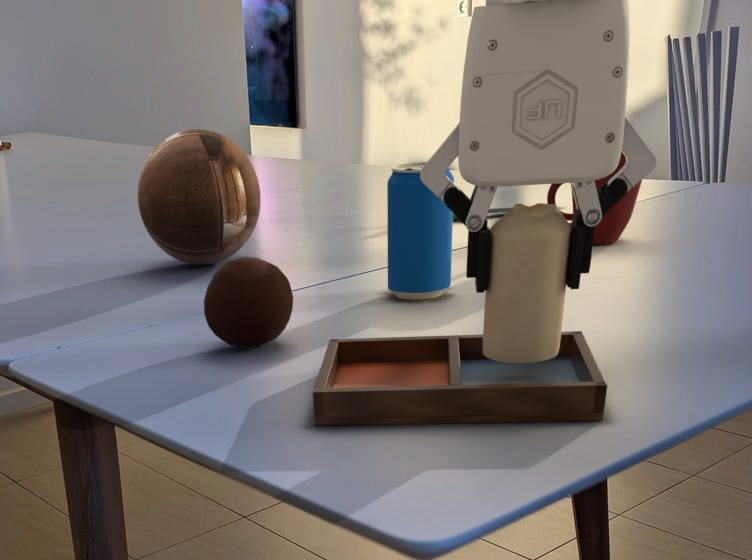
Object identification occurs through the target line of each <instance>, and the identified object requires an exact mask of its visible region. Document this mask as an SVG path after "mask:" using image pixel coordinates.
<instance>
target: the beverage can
mask: <svg viewBox="0 0 752 560" xmlns="http://www.w3.org/2000/svg"><path fill="white" fill-rule="evenodd" d="M427 162H428V161H420V162H419V161H418V162H409V163H403V164H398V165H394V166H392V167H391V171H392V173H391V175H390V176H389V177H388V180H387V183H386V184H387V187H386V188H387V189H386V190H387V191H386V193H387V194H386V195H387V202H386V203H387V289H388V290H389V291H390V292H392V293H393V294H394V296H395V297H396V298H398V299H403V300H410V301H411V300H412V301H413V300H415V301H418V300H428V299H434V298H438V297H440V296H442V295H443V294H444V292H445V291H446V290H447V289H449V288H450V287H451V282H452V253H453V227H454V226H453V225H454V224H453V223H454V219H453V212H452V211H451V210H450V209H449V208H448V207H447V206H446V205H445V203H444V202H443V201H442V200H441V199H440V198H439V197H437V196H436V195H435V194H434V193H433V192H432V191H431V190H430V189H429V188H428V187H427V186H426V185H424V184H423V183H422V181H421V179H420V173H421V170H422V168H423V167H424V166H425V165H426V163H427ZM450 168H451V165H450V166H449V167H448V169H447V170H446V175H447V177H448V178H449V179H450V180H451V181H452V182H453V183H454V184H455V177H454V175H453V173H452V172H451V170H450Z"/></svg>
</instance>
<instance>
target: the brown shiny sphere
mask: <svg viewBox="0 0 752 560" xmlns="http://www.w3.org/2000/svg"><path fill="white" fill-rule="evenodd" d="M137 186H138V188H137V203H138V209H139V214H140V217H141V221H142V224H143V225H144V228H145V230H146V231H147V233H148V235H149V237H150V238H151V239H152V241H153V242H154V244H156V246H157V247H159V248H160V250H162V251H163V252H164V253H165V254H167V255H168V256H170V257H172V258H173V259H175V260H177V261H179V262H181V263H185V264H189V265H194V266H195V265H196V266H209V265H214V264H217V263H220V262H223V261H225V260H227V259H229V258H231V257H233V256H234V255H236V253H238V252H239V251H240V250H242V248H243V247H244V246H245V245H246V244H247V242H248V241H249V240H250V238H251V236H252V234H253V233H254V231H255V229H256V226H257V223H258V220H259V217H260V212H261V199H262V197H261V187H260V182H259V179H258V175H257V173H256V170H255V167H254V165H253V163H252V162H251V160H250V159H249V157H248V156H247V155H246V153H245V152H244V151H243V150H242V148H241V147H240V146H239V145H237V144H236V143H235V142H234V141H232V140H231V138H228V137H226V136H225V135H223V134H221V133H218V132H215V131H213V130H208V129H199V128H198V129H197V128H196V129H186V130H183V131H182V130H181V131H179V132H176V133H173V134H172V135H170V136H169V137H166V138H165V139H164V140H162V141H161V142H160V143H159V144H158V145H156V147H155V148H154V149H153V150H152V151H151V152H150V154H149V156H148V157H147V159H146V161H145V163H144V164H143V167H142V170H141V172H140V176H139V180H138V185H137Z"/></svg>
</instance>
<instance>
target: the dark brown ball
mask: <svg viewBox="0 0 752 560" xmlns="http://www.w3.org/2000/svg"><path fill="white" fill-rule="evenodd" d="M292 290H293V289H292V287H291V283H290V281H289V279H288V277H287V275H286V274H285V273H284V272H283V271H282V270H281V269H280V268H279V267H278V265H275V264H273V263H271V262H268V261H266V260H263V259H261V258H258V257H252V256H241V257H237V258H234V259H232V260H230V261H226V263H224V264H223V265H222V266H221V267H220V268H219V269H218V270H217V271H216V272H215V273H214V274H213V276H212V278H211V279H210V282H209V284H208V285H207V287H206V291H205V295H204V298H203V308H204V309H203V314H204V318H205V320H206V324H207V326H208V328H209V329H210V330H211V332H212V333H213V334H214V335H215V337H217V338H218V339H219V340H221V341H223V342H224V343H226V344H227V345H229V346H232V347H237V348H244V349H254V348H260V347H262V346H265V345H267V344H269V343H270V342H272V341H274V340H276V339H277V338H278V337H280V335H282V333H283V332H284V331H285V330H286V328H287V326H288V324H289V322H290V320H291V317H292V312H293V309H294V294H293V291H292Z"/></svg>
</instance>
